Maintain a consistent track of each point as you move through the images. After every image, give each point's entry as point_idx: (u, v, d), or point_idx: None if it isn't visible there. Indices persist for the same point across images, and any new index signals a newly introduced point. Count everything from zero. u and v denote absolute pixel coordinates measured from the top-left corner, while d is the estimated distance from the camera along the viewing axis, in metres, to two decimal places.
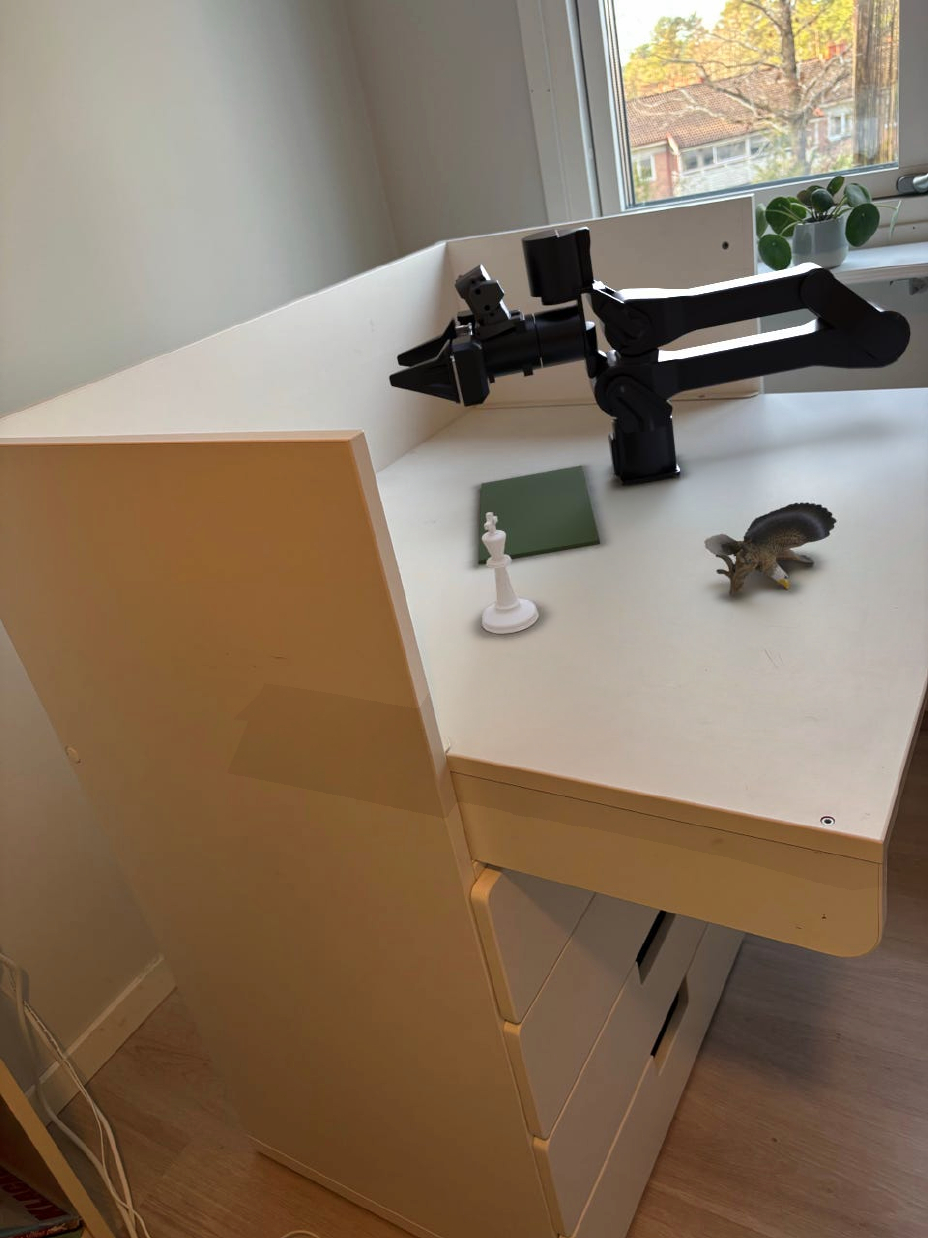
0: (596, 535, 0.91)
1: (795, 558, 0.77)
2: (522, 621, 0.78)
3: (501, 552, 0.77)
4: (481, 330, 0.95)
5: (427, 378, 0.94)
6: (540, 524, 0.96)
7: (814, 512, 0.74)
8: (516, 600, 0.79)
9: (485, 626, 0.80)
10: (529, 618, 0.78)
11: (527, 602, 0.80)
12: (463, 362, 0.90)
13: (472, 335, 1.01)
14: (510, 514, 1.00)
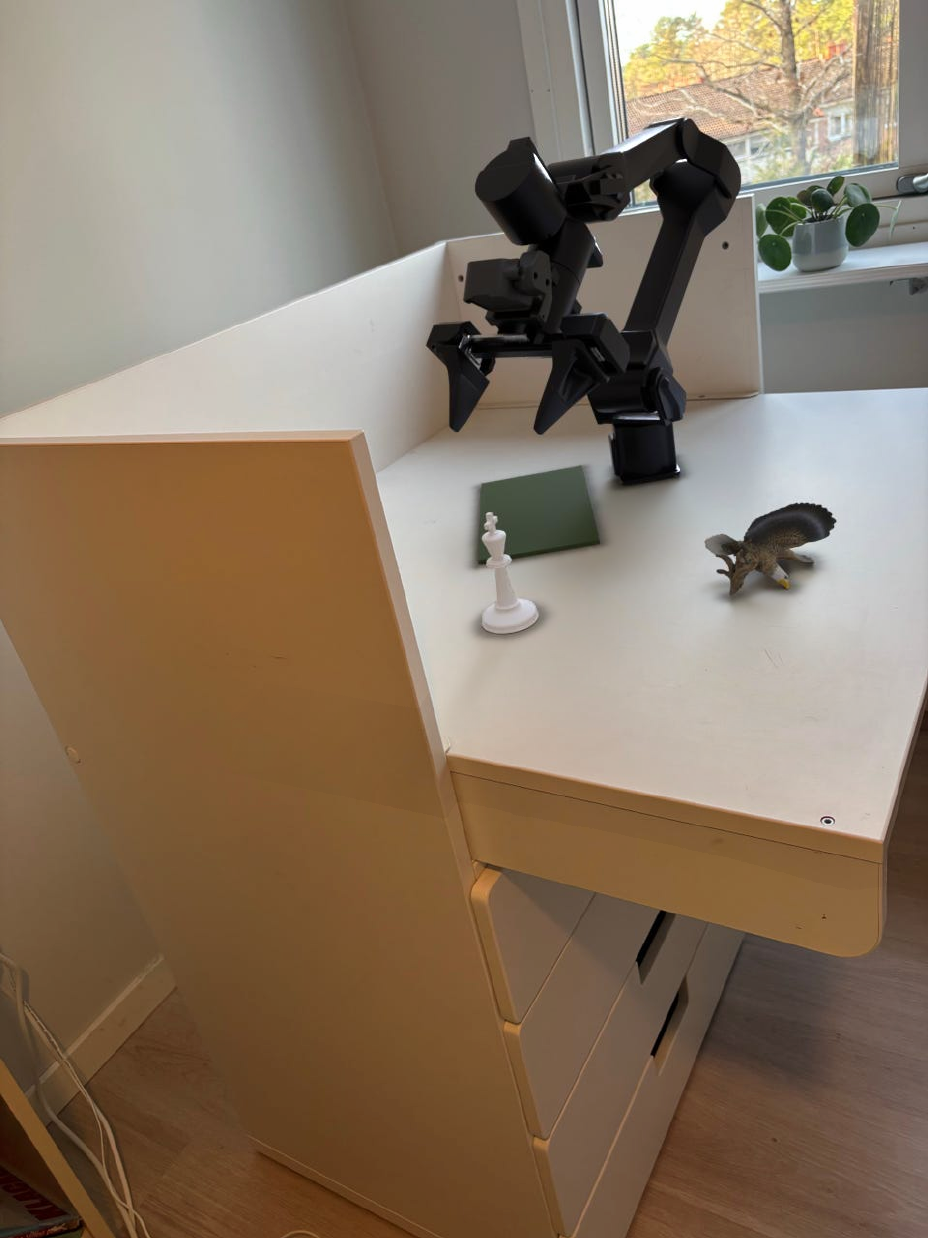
0: (596, 535, 0.91)
1: (795, 558, 0.77)
2: (522, 621, 0.78)
3: (501, 552, 0.77)
4: (542, 310, 0.79)
5: (565, 392, 0.79)
6: (540, 524, 0.96)
7: (814, 512, 0.74)
8: (516, 600, 0.79)
9: (485, 626, 0.80)
10: (529, 618, 0.78)
11: (527, 602, 0.80)
12: (608, 337, 0.76)
13: None
14: (510, 514, 1.00)
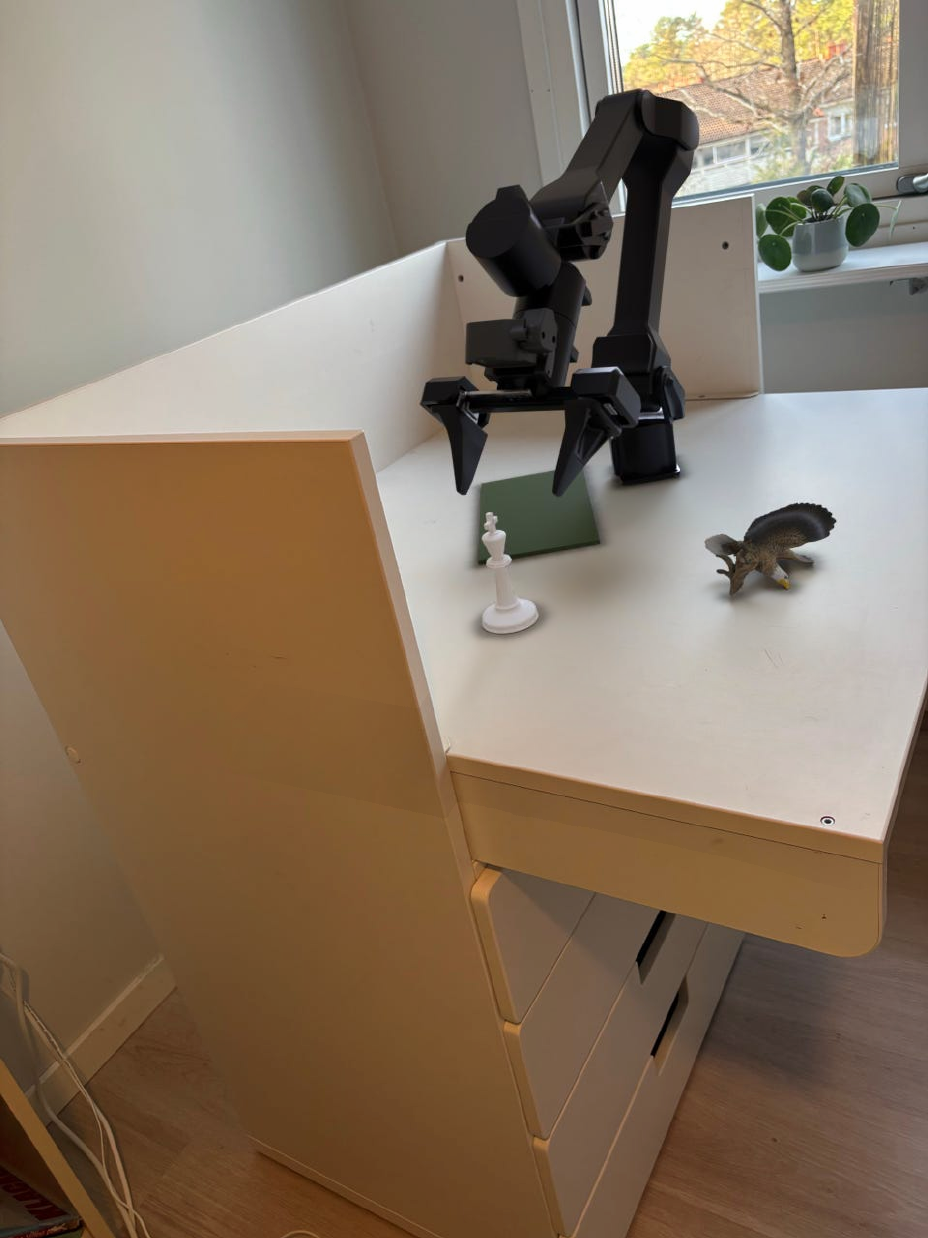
0: (596, 535, 0.91)
1: (795, 558, 0.77)
2: (522, 621, 0.78)
3: (501, 552, 0.77)
4: (547, 366, 0.76)
5: (579, 451, 0.76)
6: (540, 524, 0.96)
7: (814, 512, 0.74)
8: (516, 600, 0.79)
9: (485, 626, 0.80)
10: (529, 618, 0.78)
11: (527, 602, 0.80)
12: (622, 393, 0.73)
13: None
14: (510, 514, 1.00)
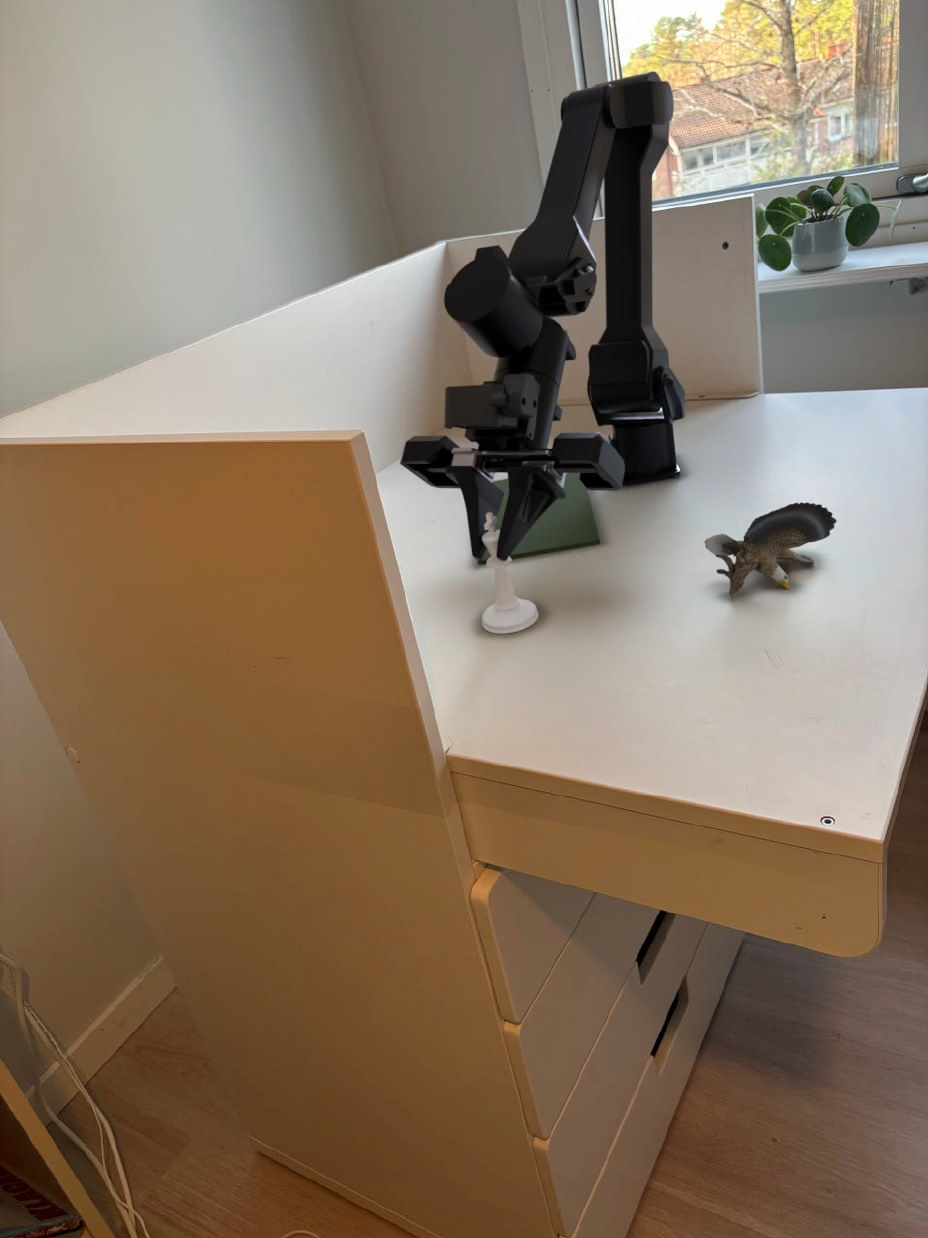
0: (596, 535, 0.91)
1: (795, 558, 0.77)
2: (522, 621, 0.78)
3: None
4: (529, 429, 0.74)
5: (524, 515, 0.76)
6: (540, 524, 0.96)
7: (814, 512, 0.74)
8: (516, 600, 0.79)
9: (485, 626, 0.80)
10: (529, 618, 0.78)
11: (527, 602, 0.80)
12: (605, 459, 0.72)
13: None
14: None
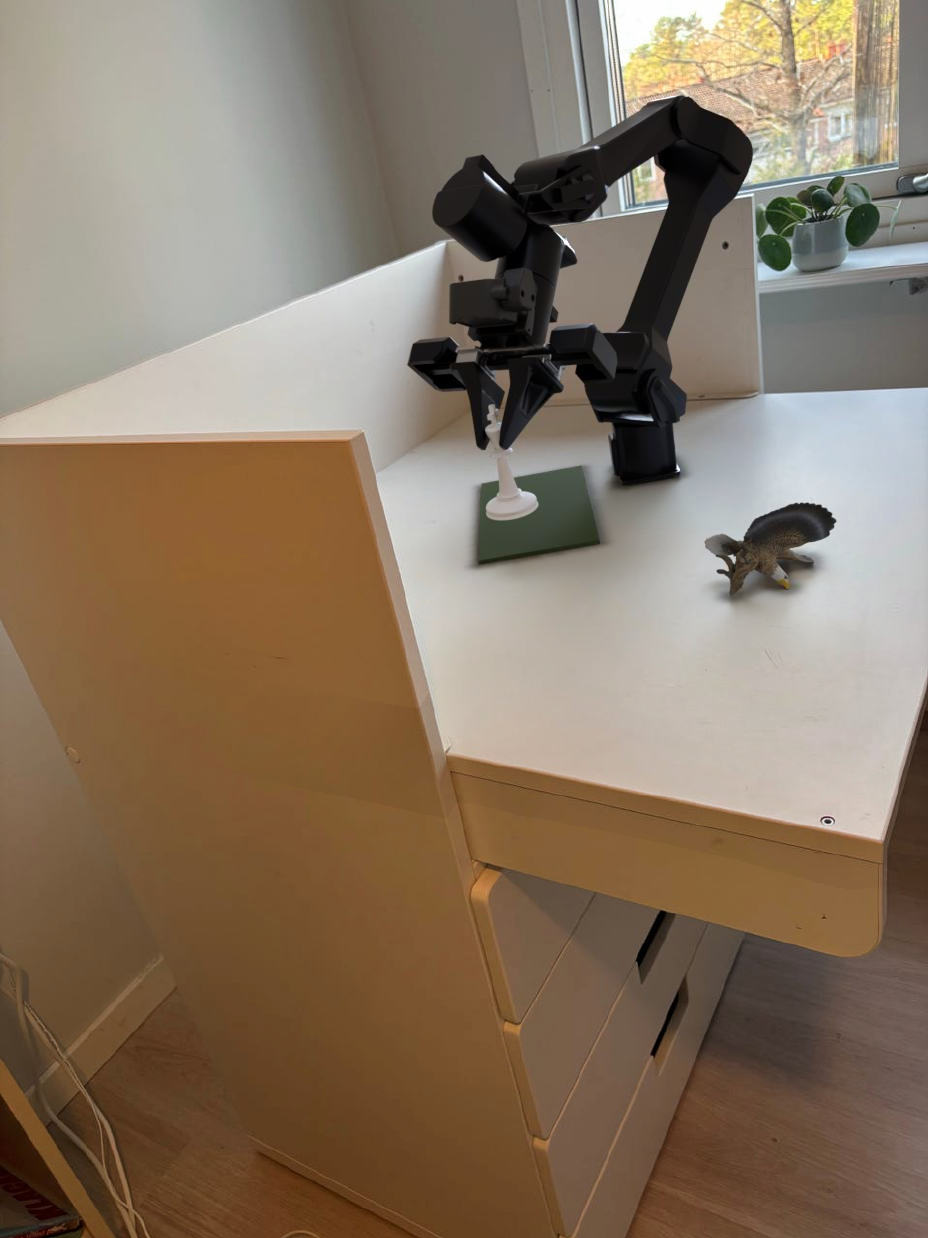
0: (596, 535, 0.91)
1: (795, 558, 0.77)
2: (523, 508, 0.84)
3: None
4: (528, 324, 0.80)
5: (524, 406, 0.82)
6: (540, 524, 0.96)
7: (814, 512, 0.74)
8: (517, 490, 0.85)
9: (489, 515, 0.85)
10: (530, 505, 0.84)
11: (528, 493, 0.86)
12: (599, 348, 0.77)
13: None
14: None
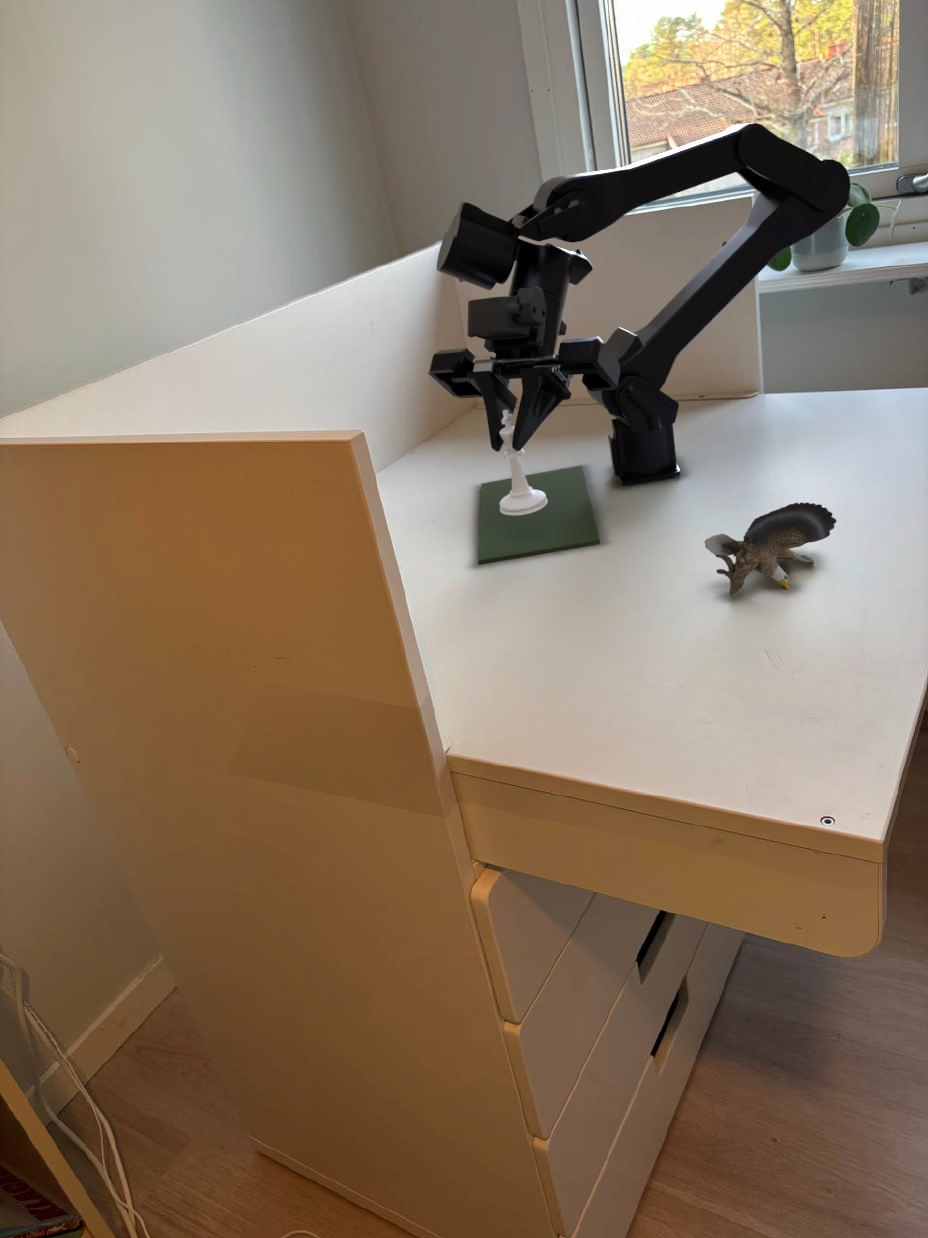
0: (596, 535, 0.91)
1: (795, 558, 0.77)
2: (534, 504, 0.92)
3: None
4: (539, 337, 0.88)
5: (535, 411, 0.90)
6: (540, 524, 0.96)
7: (814, 512, 0.74)
8: (528, 488, 0.93)
9: (502, 511, 0.93)
10: (540, 502, 0.92)
11: (538, 490, 0.94)
12: (603, 359, 0.85)
13: None
14: None
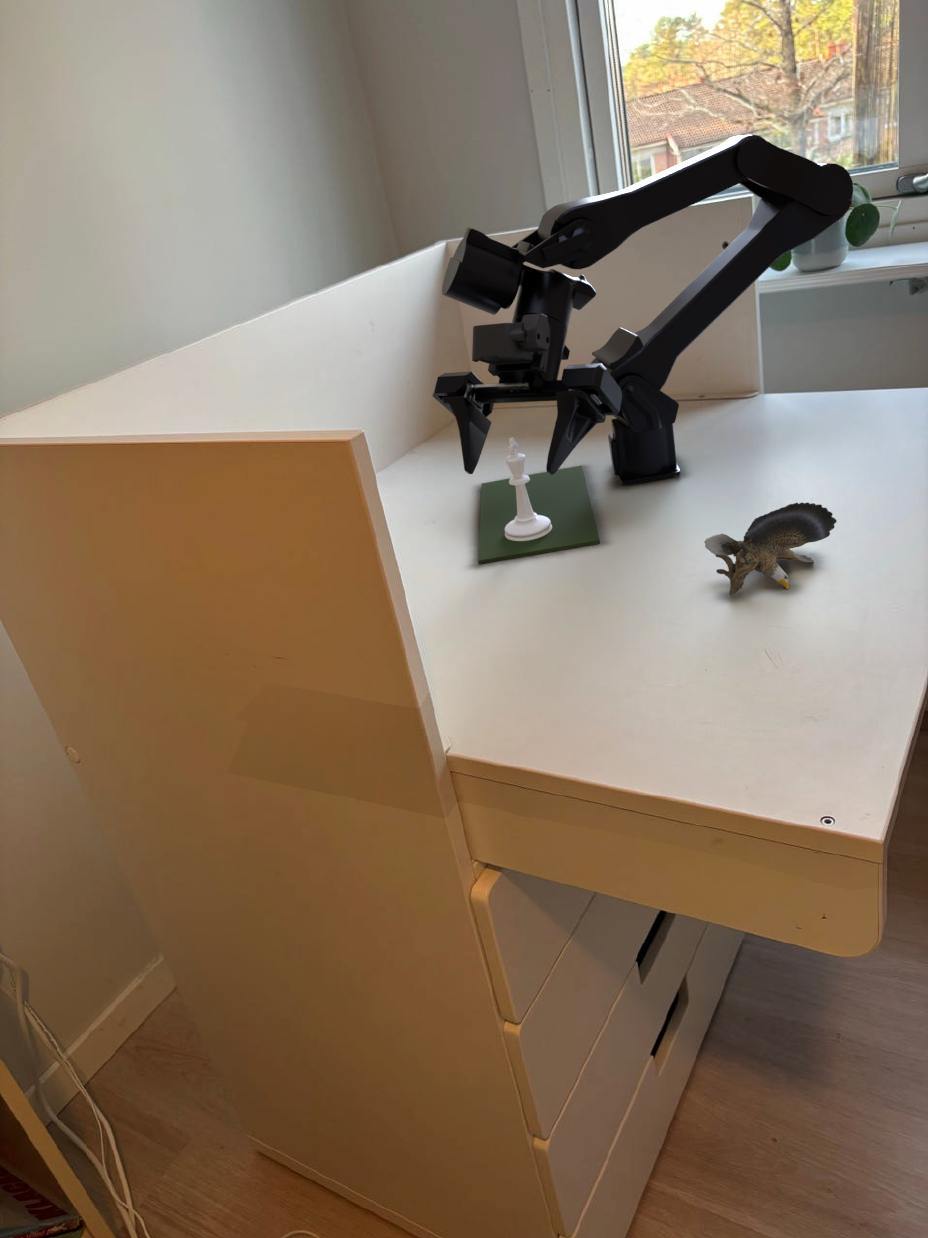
0: (596, 535, 0.91)
1: (795, 558, 0.77)
2: (538, 530, 0.93)
3: (521, 471, 0.92)
4: (542, 362, 0.89)
5: (570, 435, 0.89)
6: None
7: (814, 512, 0.74)
8: (533, 514, 0.94)
9: (507, 536, 0.95)
10: (544, 528, 0.93)
11: (543, 516, 0.95)
12: (606, 385, 0.86)
13: None
14: (510, 514, 1.00)
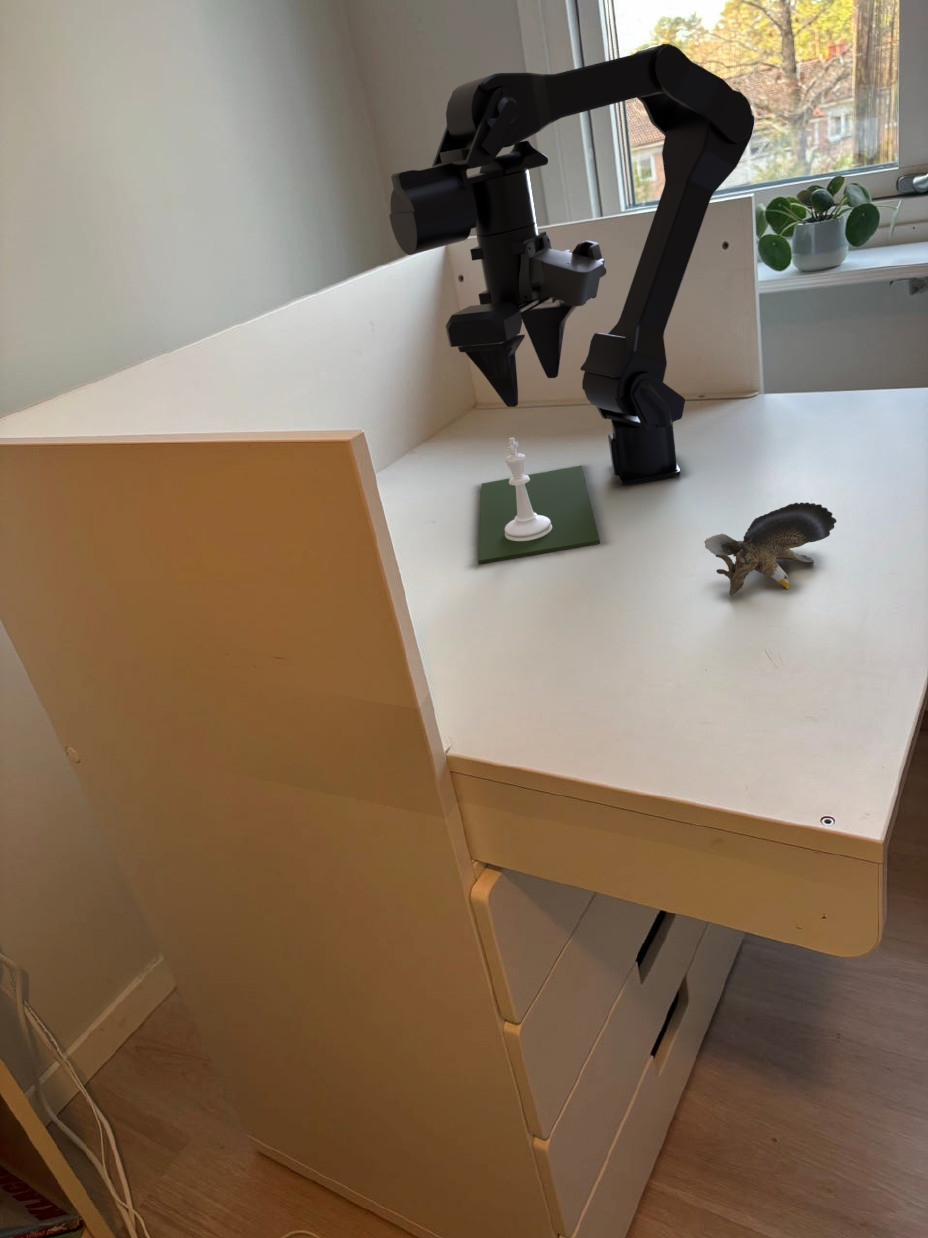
0: (596, 535, 0.91)
1: (795, 558, 0.77)
2: (538, 530, 0.93)
3: (521, 471, 0.92)
4: None
5: None
6: None
7: (814, 512, 0.74)
8: (533, 514, 0.94)
9: (507, 536, 0.95)
10: (544, 528, 0.93)
11: (543, 516, 0.95)
12: None
13: None
14: (510, 514, 1.00)
